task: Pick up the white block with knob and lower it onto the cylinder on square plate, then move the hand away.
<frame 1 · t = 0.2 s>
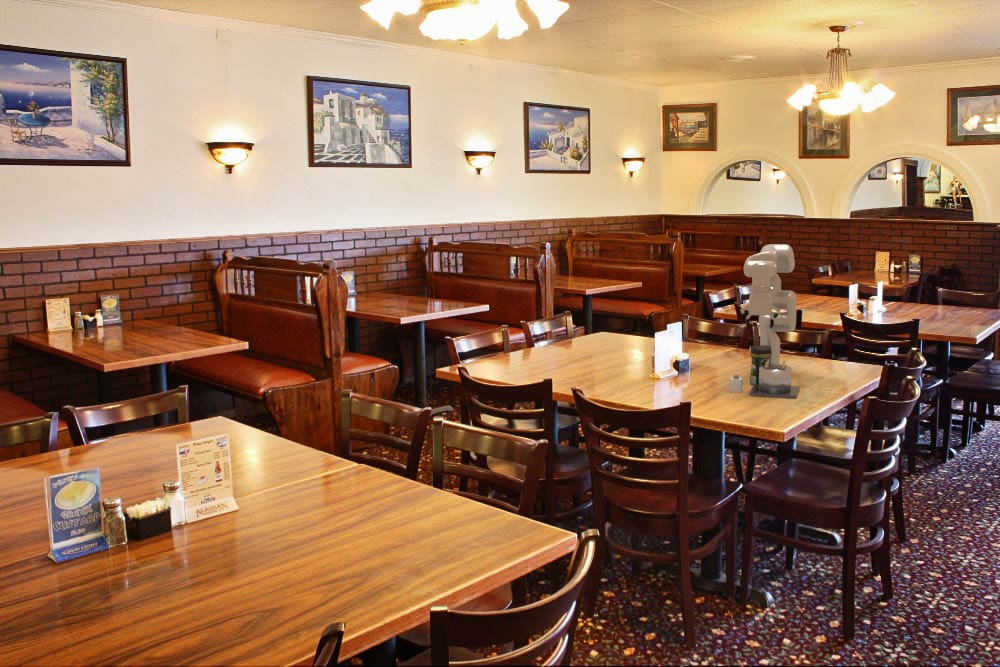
hand: (759, 327, 394), 30 cm above the table, tool pointing down, fingers open, 9 cm apart
cylinder on square plate: (774, 392, 401), on the table
coffee jar: (760, 384, 420), on the table
white block with knob: (735, 391, 406), on the table
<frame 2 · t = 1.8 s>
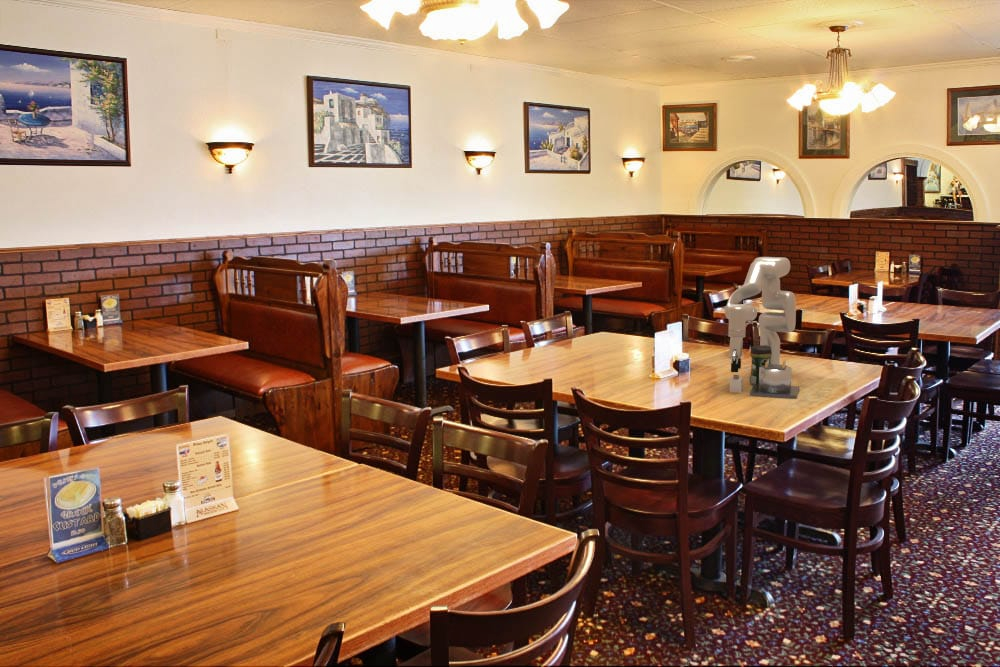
hand: (735, 370, 404), 10 cm above the table, tool pointing down, fingers open, 9 cm apart
nothing on the table moved.
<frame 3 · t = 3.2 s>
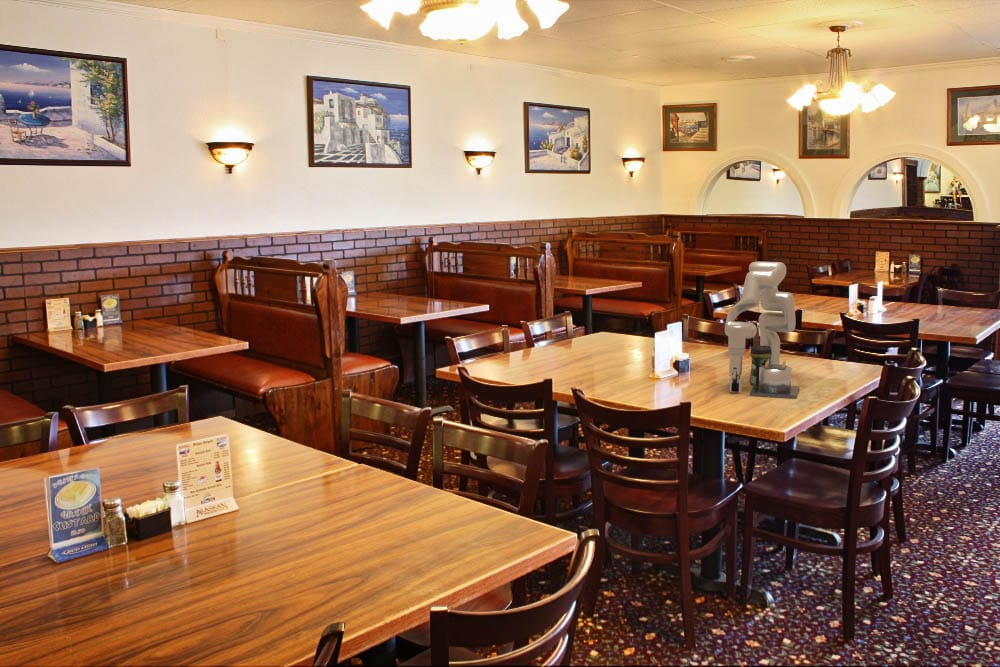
hand: (735, 389, 406), 1 cm above the table, tool pointing down, fingers closed on white block with knob, 5 cm apart
white block with knob: (735, 391, 406), on the table, touching gripper
everything else where it was.
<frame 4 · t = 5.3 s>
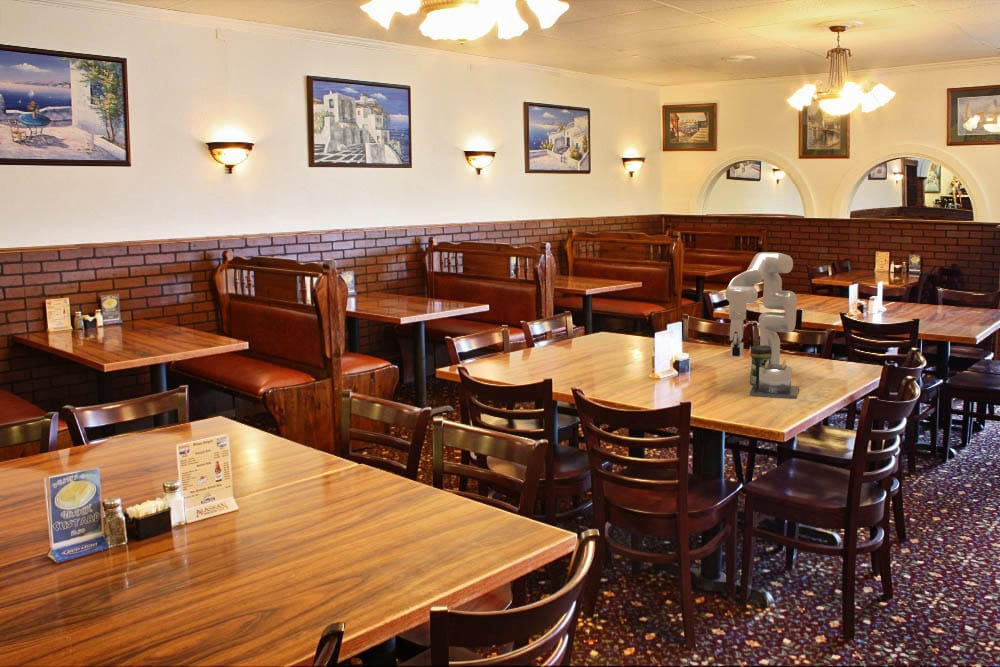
hand: (736, 354, 403), 17 cm above the table, tool pointing down, fingers closed on white block with knob, 5 cm apart
white block with knob: (736, 356, 403), point 17 cm above the table, touching gripper
everything else where it was.
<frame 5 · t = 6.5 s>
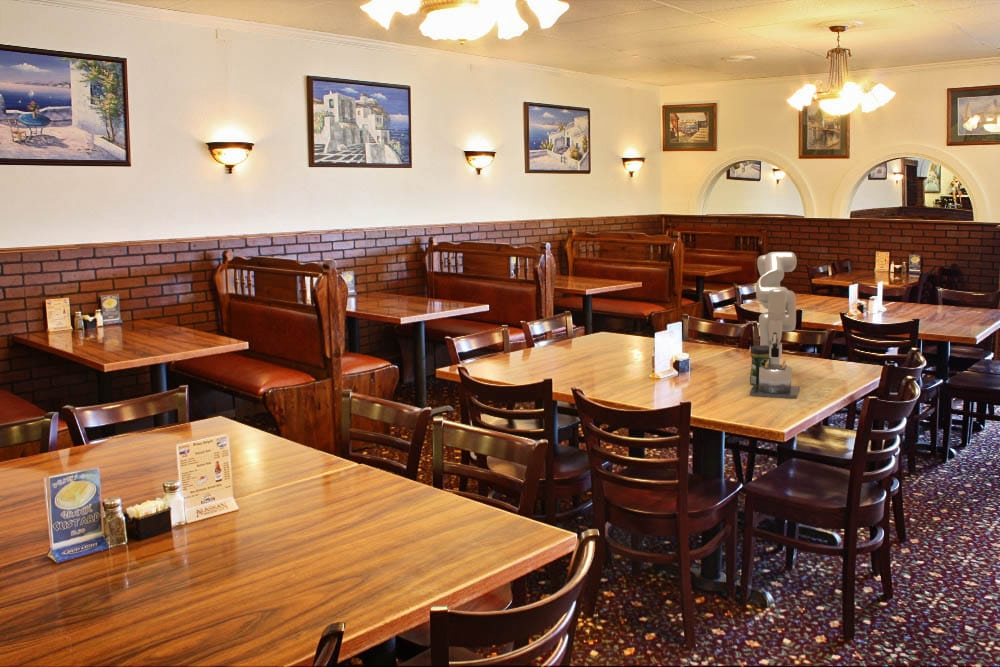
hand: (775, 355, 399), 17 cm above the table, tool pointing down, fingers closed on white block with knob, 5 cm apart
white block with knob: (775, 357, 399), point 17 cm above the table, touching gripper
everything else where it was.
when the fingers open (14 cm above the table, at t = 7.4 s): white block with knob stays where it is, resting on cylinder on square plate.
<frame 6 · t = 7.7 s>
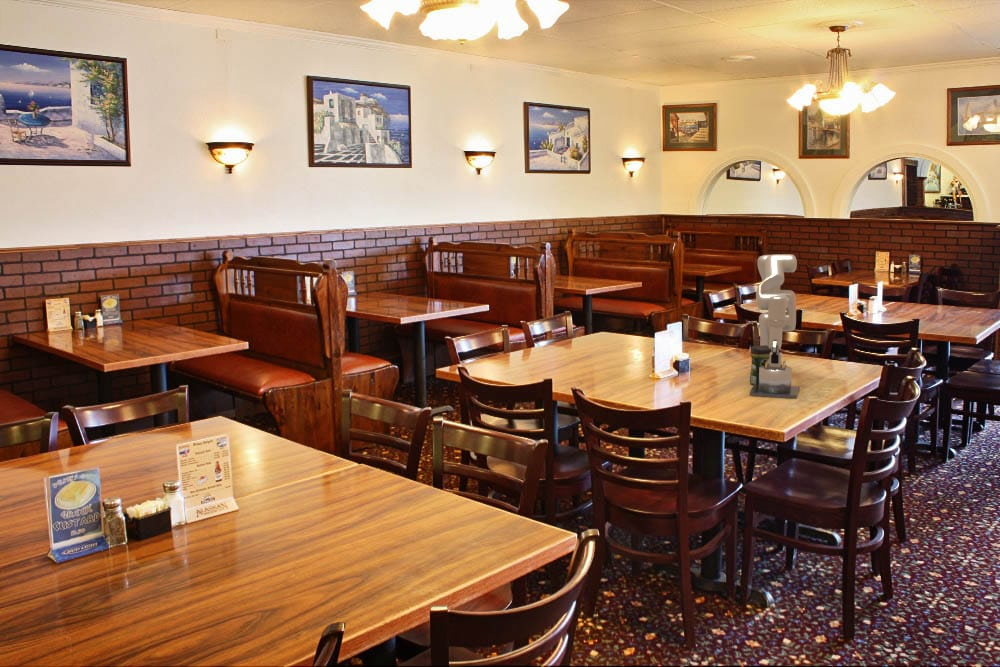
hand: (775, 361, 399), 14 cm above the table, tool pointing down, fingers open, 8 cm apart
white block with knob: (775, 366, 399), point 12 cm above the table, touching cylinder on square plate
everything else where it was.
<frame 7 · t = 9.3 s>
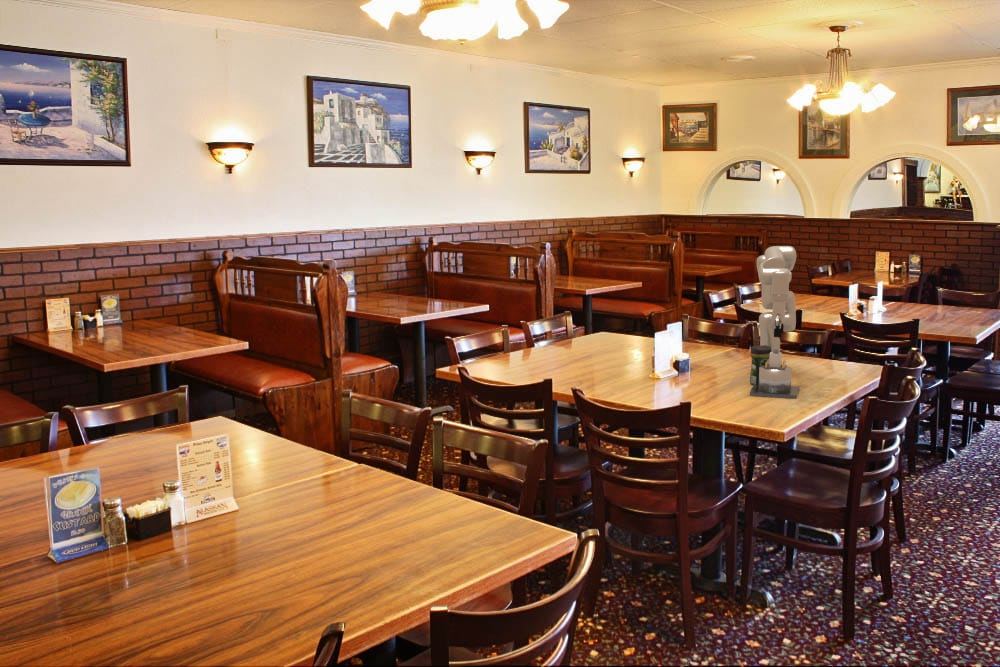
hand: (778, 335, 399), 26 cm above the table, tool pointing down, fingers open, 9 cm apart
nothing on the table moved.
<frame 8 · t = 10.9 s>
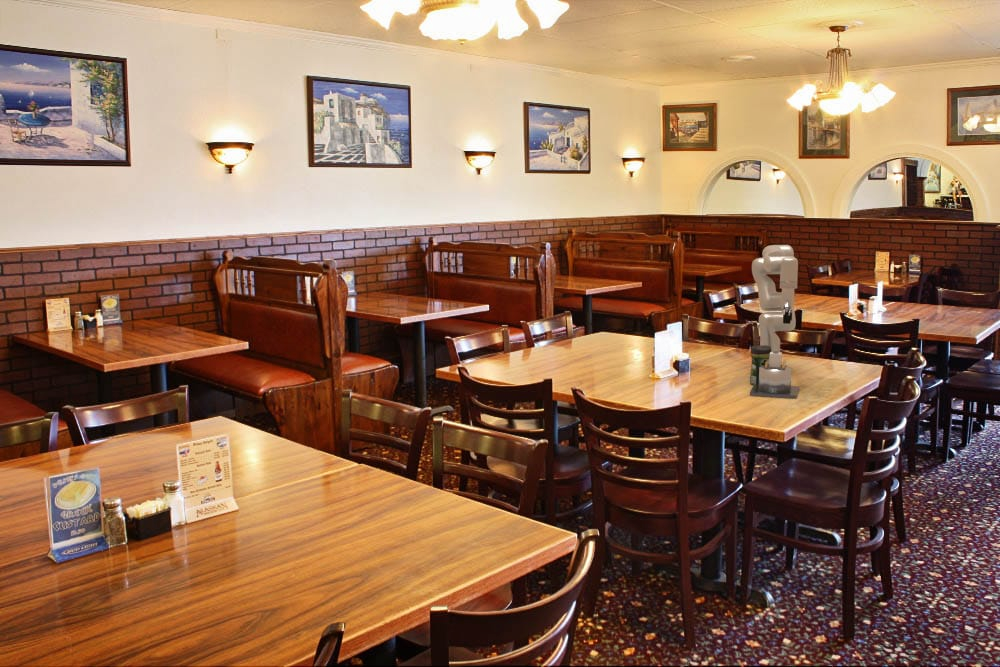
hand: (787, 322, 404), 31 cm above the table, tool pointing down, fingers open, 9 cm apart
nothing on the table moved.
at the end: white block with knob 0.1 cm off-centre on the cylinder on square plate, point 12.3 cm above the cylinder on square plate's base; white block with knob tilted 0°; the gripper is holding nothing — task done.
